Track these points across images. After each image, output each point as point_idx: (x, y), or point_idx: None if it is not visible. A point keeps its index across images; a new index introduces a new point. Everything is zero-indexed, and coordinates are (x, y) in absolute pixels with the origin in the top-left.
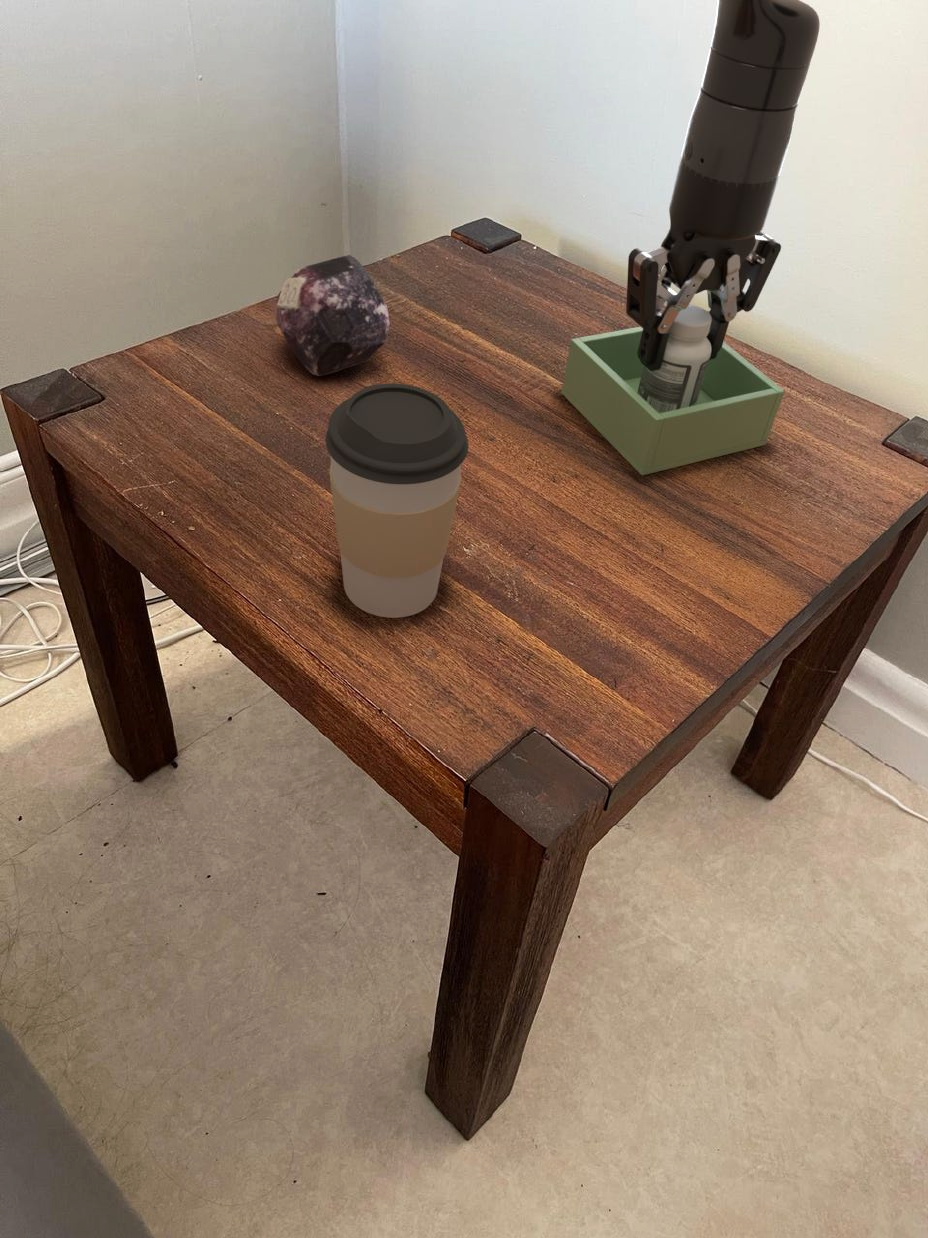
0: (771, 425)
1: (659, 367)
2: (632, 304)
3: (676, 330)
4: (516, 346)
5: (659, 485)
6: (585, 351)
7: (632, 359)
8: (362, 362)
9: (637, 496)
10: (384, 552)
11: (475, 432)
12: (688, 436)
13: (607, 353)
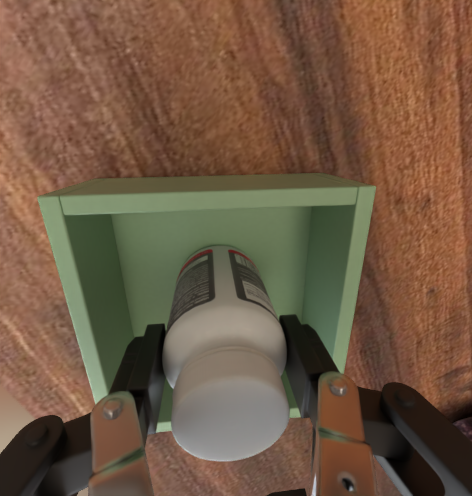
0: (80, 183)
1: (284, 316)
2: (422, 463)
3: (280, 379)
4: (296, 425)
5: (313, 144)
6: None
7: None
8: (467, 419)
9: (358, 133)
10: None
11: (437, 306)
12: (271, 180)
13: None
